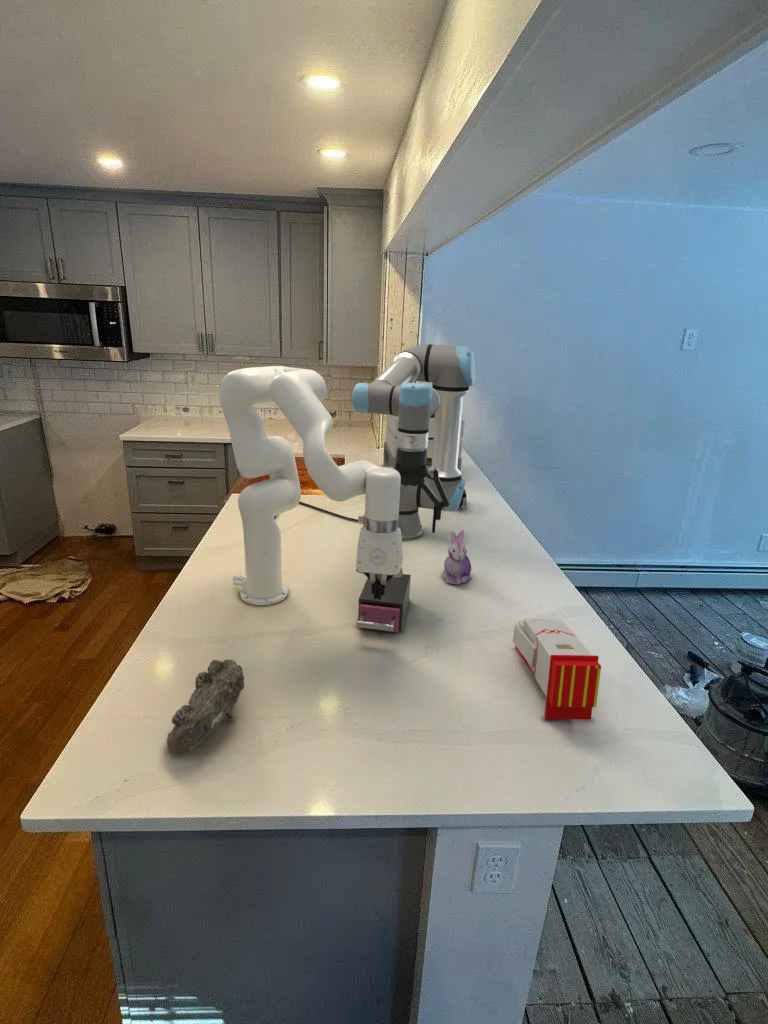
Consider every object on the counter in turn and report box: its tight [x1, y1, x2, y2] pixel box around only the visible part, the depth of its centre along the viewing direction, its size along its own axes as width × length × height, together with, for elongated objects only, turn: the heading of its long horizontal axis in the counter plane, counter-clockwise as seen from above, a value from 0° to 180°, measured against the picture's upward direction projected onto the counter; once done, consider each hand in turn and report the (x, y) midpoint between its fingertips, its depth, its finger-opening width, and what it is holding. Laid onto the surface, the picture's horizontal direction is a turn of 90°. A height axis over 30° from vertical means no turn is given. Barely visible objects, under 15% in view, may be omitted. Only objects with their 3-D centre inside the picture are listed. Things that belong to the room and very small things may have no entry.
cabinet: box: [357, 573, 412, 633], centre depth 146 cm, size 16×11×8 cm
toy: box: [512, 618, 602, 721], centre depth 123 cm, size 12×13×30 cm
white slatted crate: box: [383, 413, 465, 472], centre depth 268 cm, size 34×33×41 cm
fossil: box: [166, 658, 245, 754], centre depth 106 cm, size 22×10×15 cm
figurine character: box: [458, 488, 468, 511], centre depth 230 cm, size 7×8×15 cm
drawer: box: [356, 603, 400, 633], centre depth 142 cm, size 21×10×6 cm, turn 171°
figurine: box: [442, 529, 472, 585], centre depth 166 cm, size 9×10×15 cm
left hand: (378, 596), depth 132 cm, fingers closed
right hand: (406, 529), depth 146 cm, fingers open, 13 cm apart
